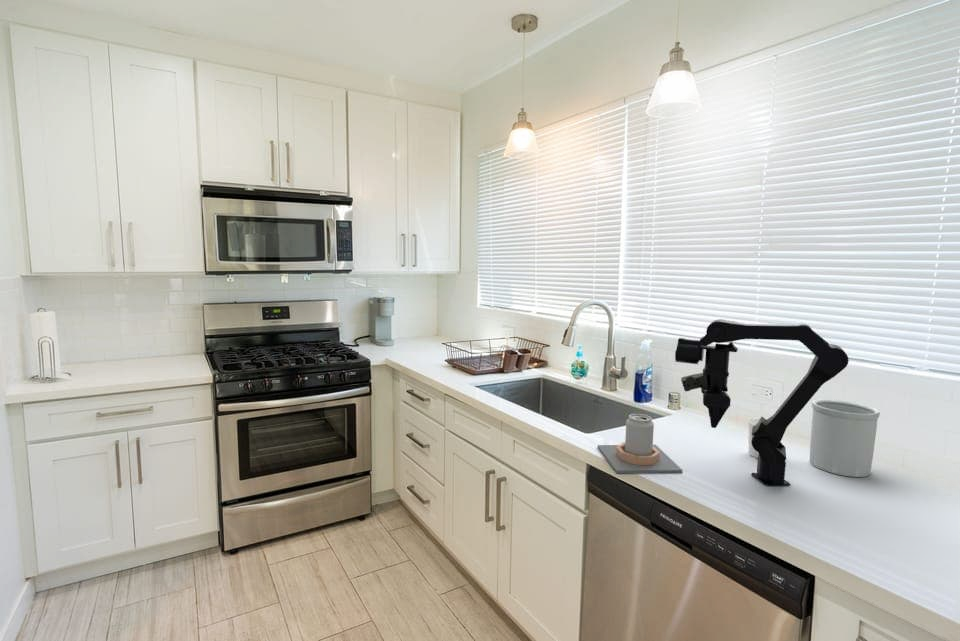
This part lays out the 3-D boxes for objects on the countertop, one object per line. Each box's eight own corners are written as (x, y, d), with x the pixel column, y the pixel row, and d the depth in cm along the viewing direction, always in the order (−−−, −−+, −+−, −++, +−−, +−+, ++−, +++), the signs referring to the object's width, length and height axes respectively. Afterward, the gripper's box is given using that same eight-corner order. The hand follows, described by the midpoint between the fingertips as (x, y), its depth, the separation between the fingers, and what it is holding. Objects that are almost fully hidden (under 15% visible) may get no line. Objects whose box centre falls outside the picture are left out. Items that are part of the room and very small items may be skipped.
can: (657, 459, 136) (659, 418, 135) (638, 464, 133) (640, 422, 131) (637, 450, 143) (639, 410, 141) (619, 454, 139) (620, 414, 138)
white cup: (746, 457, 140) (749, 424, 138) (746, 448, 147) (748, 417, 145) (778, 463, 136) (781, 429, 135) (776, 453, 143) (779, 421, 142)
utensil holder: (805, 452, 144) (810, 395, 142) (867, 463, 137) (874, 403, 135) (808, 470, 132) (814, 408, 130) (877, 483, 124) (885, 417, 122)
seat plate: (682, 472, 129) (683, 462, 129) (616, 473, 129) (617, 462, 128) (655, 447, 147) (656, 437, 147) (597, 447, 146) (597, 438, 146)
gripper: (683, 357, 141) (680, 409, 143) (684, 370, 124) (680, 428, 126) (726, 360, 136) (722, 414, 138) (732, 374, 119) (728, 435, 121)
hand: (712, 422), depth 131 cm, fingers open, 9 cm apart
